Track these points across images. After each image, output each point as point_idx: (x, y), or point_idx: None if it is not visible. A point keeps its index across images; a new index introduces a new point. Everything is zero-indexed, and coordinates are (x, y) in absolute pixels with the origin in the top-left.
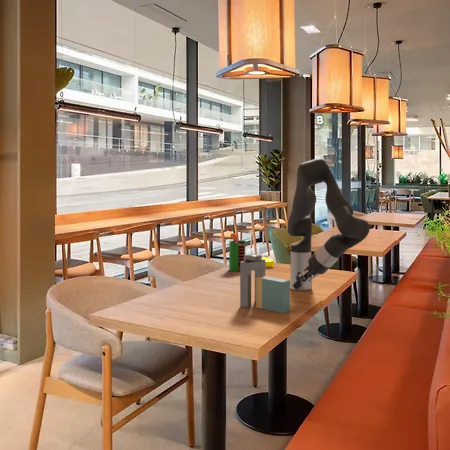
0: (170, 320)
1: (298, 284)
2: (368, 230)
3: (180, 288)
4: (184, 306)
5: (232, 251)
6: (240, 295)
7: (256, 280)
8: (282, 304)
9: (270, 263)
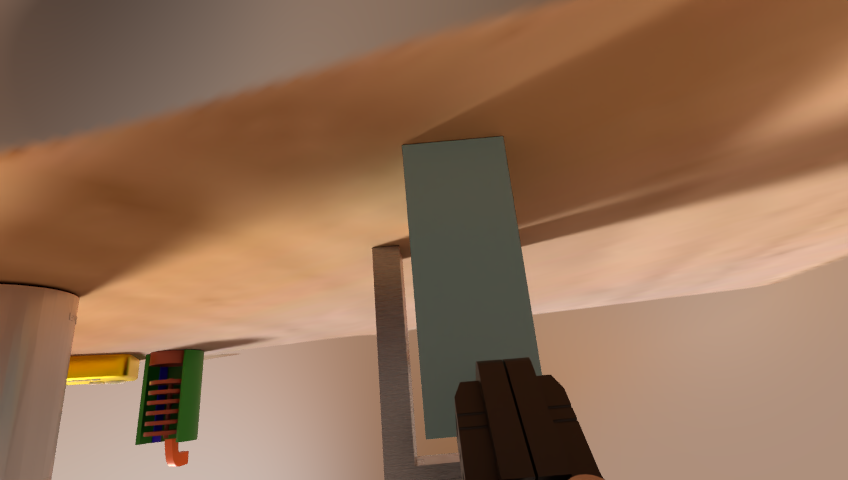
0: (812, 240)
1: (588, 455)
2: None
3: None
4: (607, 279)
5: (195, 411)
6: None
7: None
8: (512, 209)
9: None
